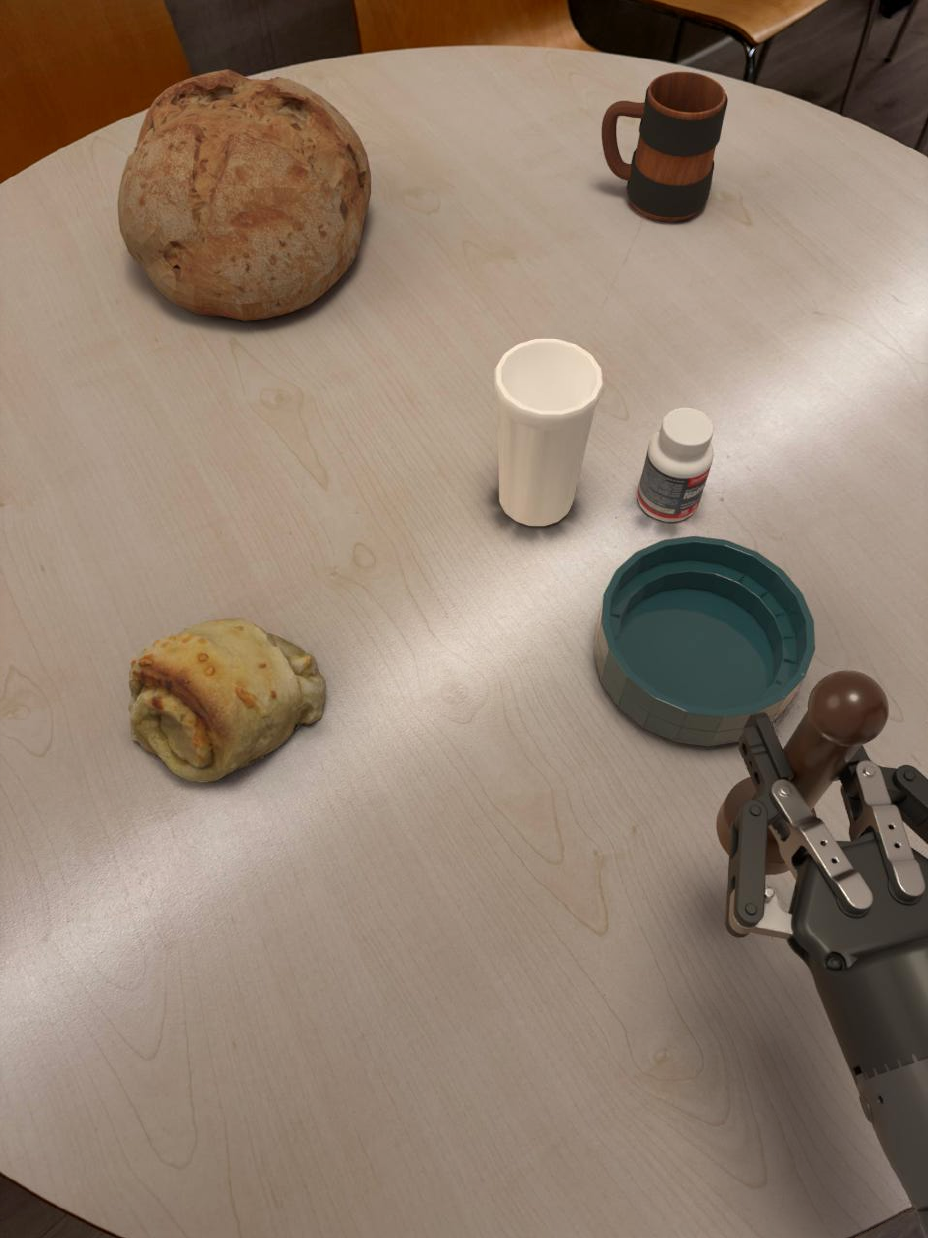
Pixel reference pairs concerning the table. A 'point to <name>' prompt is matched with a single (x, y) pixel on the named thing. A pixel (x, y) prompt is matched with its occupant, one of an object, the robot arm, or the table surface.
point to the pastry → (221, 697)
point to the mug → (669, 144)
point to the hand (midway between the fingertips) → (784, 714)
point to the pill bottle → (677, 465)
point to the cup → (543, 426)
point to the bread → (244, 195)
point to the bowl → (702, 639)
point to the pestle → (818, 748)
